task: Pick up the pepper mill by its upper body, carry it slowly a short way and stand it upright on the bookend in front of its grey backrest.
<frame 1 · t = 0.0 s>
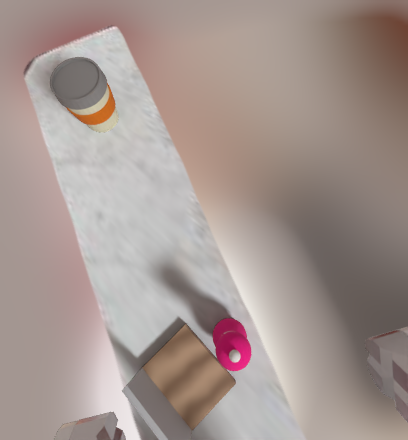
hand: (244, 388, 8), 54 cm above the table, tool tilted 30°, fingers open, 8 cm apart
bookend: (187, 374, 57), on the table
reusable coffee cup: (103, 119, 74), on the table
pepper mill: (228, 332, 59), on the table
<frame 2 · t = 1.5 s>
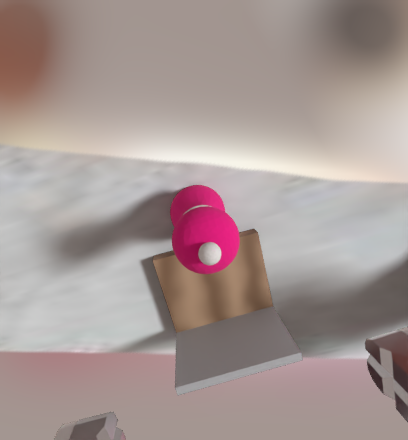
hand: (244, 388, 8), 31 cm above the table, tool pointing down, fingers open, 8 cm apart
bookend: (214, 281, 41), on the table
pepper mill: (195, 206, 38), on the table
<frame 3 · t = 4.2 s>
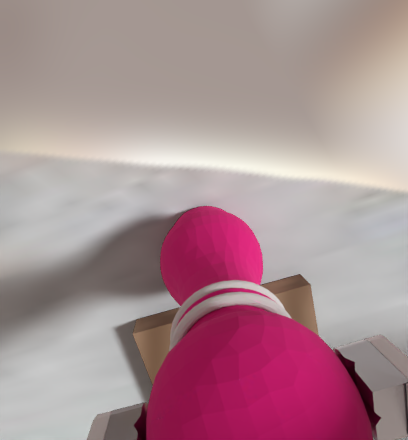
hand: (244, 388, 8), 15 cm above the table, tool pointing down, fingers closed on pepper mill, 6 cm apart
bookend: (234, 355, 26), on the table
pepper mill: (205, 239, 23), on the table, touching gripper
when the fingers open (18 cm above the table, at t = 12.0 s): pepper mill stays where it is, resting on bookend.
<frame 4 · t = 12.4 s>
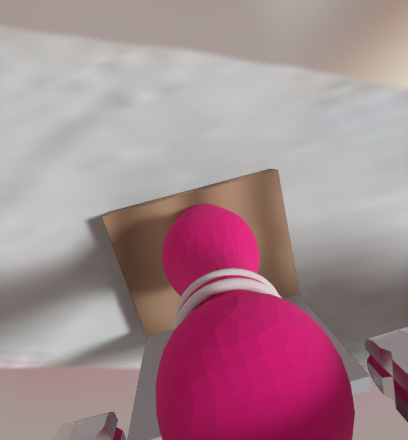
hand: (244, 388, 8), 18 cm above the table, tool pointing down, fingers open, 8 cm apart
bookend: (207, 256, 26), on the table
pepper mill: (204, 236, 24), point 2 cm above the table, touching bookend
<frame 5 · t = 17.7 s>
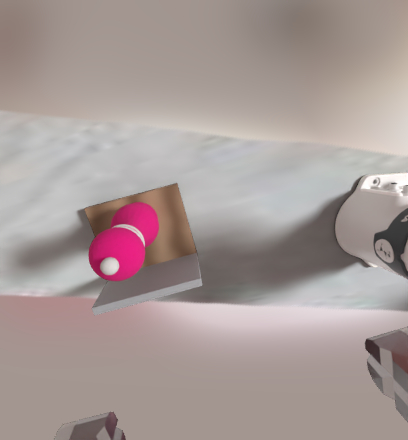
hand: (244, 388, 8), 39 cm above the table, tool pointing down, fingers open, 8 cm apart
bookend: (145, 231, 47), on the table
pepper mill: (140, 219, 44), point 2 cm above the table, touching bookend
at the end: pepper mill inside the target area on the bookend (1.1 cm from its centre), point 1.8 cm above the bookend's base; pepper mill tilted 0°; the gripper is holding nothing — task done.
